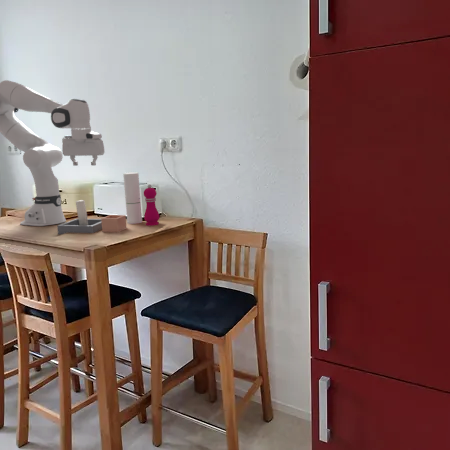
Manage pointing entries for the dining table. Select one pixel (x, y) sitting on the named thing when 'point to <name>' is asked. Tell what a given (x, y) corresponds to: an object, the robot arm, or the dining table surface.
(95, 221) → the tray
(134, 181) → the cylindrical container
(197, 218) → the dining table surface
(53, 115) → the robot arm
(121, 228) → the pink block with hole
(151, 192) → the pepper mill
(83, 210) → the dowel
